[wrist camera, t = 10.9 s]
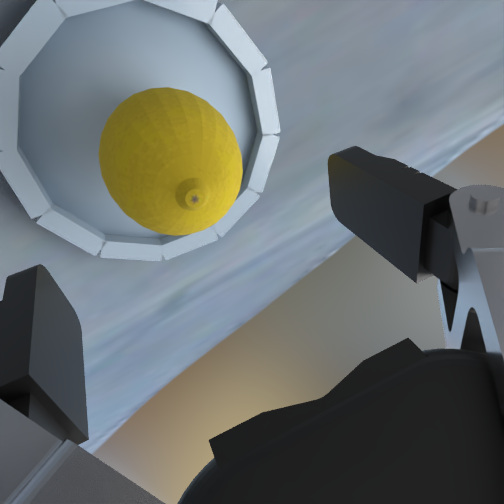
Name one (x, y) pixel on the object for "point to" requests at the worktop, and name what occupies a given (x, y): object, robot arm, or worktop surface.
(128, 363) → the worktop surface
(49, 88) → the dish
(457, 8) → the worktop surface
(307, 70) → the worktop surface
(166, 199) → the lemon
